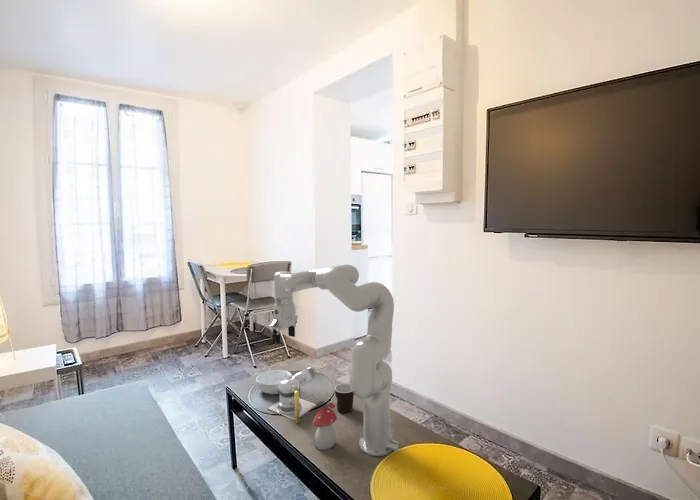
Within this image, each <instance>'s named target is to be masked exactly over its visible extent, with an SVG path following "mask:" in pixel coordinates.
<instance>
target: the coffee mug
mask: <svg viewBox="0 0 700 500" xmlns="http://www.w3.org/2000/svg"><path fill="white" fill-rule="evenodd" d="M334 395H335V401H336V402H335V403H336V409H337V412H338V414H340V415H349V414H351V413H352V412H353V407H354V406H353V405H354V399H355V397H354V396H355V394H354V393H353V391H352V389H351V385H350V383H339V384H337V385H335V386H334Z"/></svg>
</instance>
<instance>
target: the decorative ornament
mask: <svg viewBox="0 0 700 500" xmlns="http://www.w3.org/2000/svg"><path fill="white" fill-rule="evenodd" d="M334 408H335V404H334V403H333V402H331V403H329V404H328V407H326V408H325V407H324V408H321V409H320V410H318V412H317V413H316V415H315V416H314V417H313V421H312V425H313V426H314V427H315V428H317V430H316V431H315V437H314V447H315V449H317V450H319V451H320V450H322V451H326V450H329V449H332V448H333V447H334V445H335V442H336V436H337V434H336V429H335V428H334V426H333V424H334V423H335V422H336V421H337V420H338V417H337V414H336V413H335V411H334Z"/></svg>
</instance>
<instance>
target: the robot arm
mask: <svg viewBox="0 0 700 500" xmlns="http://www.w3.org/2000/svg"><path fill="white" fill-rule="evenodd" d="M359 276H360V274H359V271H358V269H357V267H355V266H354V265H351V264H341V265H335V266H334V265H333V266H328V267H327V266H326V267H321V268H318V269H312V270H303V271H299V272H295V273H292V272H290V271H287V270H285V271H284V270H281V271H277V272H275V273H274V275H273V278H274V279H273V281H274V282H273V283H274V285H273V286H274V302H273V303H274V306H273V315H272V322H271V323H270V325H268V326H269V330H270V332H271V333H272V336H273V337H272V338H273V343H274V344H277V345H278V344H279V345H280V344H281V334H280V332H281V330H286V329H287V331H288V333H287V334H288V337H292V338H294V337H295V336H296V327H297V326H296V325H297V322H298V318H299V316H298V315H297V314H296V308H295V303H294V301H293V298H294V297H293V296H294V295H293V293H297V292H300V291H303V290H307V289H308V290H309V289H313V288H319V289H321V290H323V291H324V290H328V291H329V292H330V293H331V294H332V295H333V296H334V297H335V298H336V299H337V300H339V301H340V303H342V304H343V305H344V306H345V307H347V309H349V310H351V311H353V312H355V313H357V312H358V313H359V312H363V311H366V310H369V309H371V312H370V314H369V317H368V321H367V334H366V336H365V337H363V338H362V339H360V340H359V341H357V342H356V343H355V345H353V348H352V350H351V351H352V352H351V358H350V371H349V375H350V376H349V379H350V380H349V384H350V385H351V389H352V391H353V393H354V396H355V397H357V398H358V399H360V400H363V409H362V411H363V412H362V413H363V418H362V419H363V435H362V436H361V437H360V439H359V441H358V442H359V443H358V444H359V445H358V446H359V449H360V450H361V451H362V452H363V453H365V454H367V455H369V456H374V457H382V456H386V455H388V454H390V453H391V452H392V451H396V452H399V448H400V446H399V440H398V441H397V440H396V439H395V440H394V438H393V434H392V433H391V431H390V428H391V427H390V424H391V423H390V419H391V416H390V414H391V413H390V411H391V410H390V405H391V401H390V400H391V389H392V388H391V387H392V382H393V372H392V368H391V367H390V365H389V363H388V362H387V361H385V359H386V358H388V357H389V355H390V353H391V347H392V337H393V336H392V335H393V334H392V333H393V319H394V311H395V301H394V297H393V294H392V293H391V291H390V289H389V288H388V287H387V286H386V285H384V284H383V283H381V282H375V281H372V282H366V283H364V284H361V285H356V284H357V283H358V280H359Z"/></svg>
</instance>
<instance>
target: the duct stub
mask: <svg viewBox="0 0 700 500" xmlns="http://www.w3.org/2000/svg"><path fill="white" fill-rule="evenodd" d="M315 407H318V406H317V403H314V402H311V401H308V400H305V399H303V398H300V392H299V391H298V390H295V391H294V396H281V395H279V401H277V402H276V403H274V404H272V405H270V406H269V407H267V410H268V409H270V410H269V411H271V410H272V411H271V412H273V411H275V412H277V413H276V414H278V413H279V414H278V415H280V414H281V415H280V416H283V417H286V418H287V419H290V420H293V421H294V422H295V424H298V423H300V421H301V420H300V418H301V417H303V416H304V415H305V414H307V413H309V412H310V411H311V410H313V409H314V408H315ZM275 412H274V413H275Z"/></svg>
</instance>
